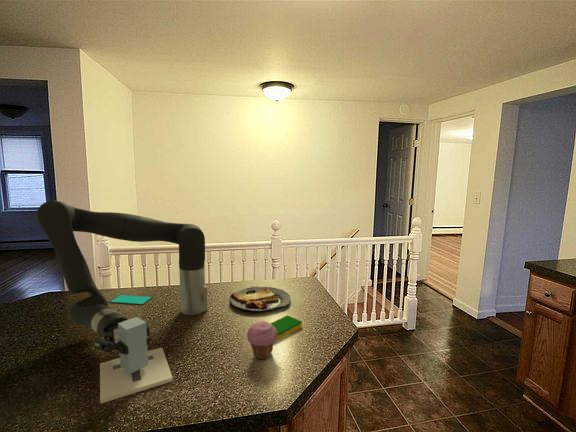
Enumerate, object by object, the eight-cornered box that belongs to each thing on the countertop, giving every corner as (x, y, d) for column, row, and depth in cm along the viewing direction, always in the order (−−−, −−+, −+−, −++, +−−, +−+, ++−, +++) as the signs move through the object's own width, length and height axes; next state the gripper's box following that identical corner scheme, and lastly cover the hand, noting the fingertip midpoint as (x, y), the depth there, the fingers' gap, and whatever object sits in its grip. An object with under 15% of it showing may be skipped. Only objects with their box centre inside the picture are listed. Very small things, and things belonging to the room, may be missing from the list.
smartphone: (120, 294, 135) (152, 296, 133) (120, 296, 135) (153, 298, 133) (108, 301, 128) (142, 304, 126) (108, 303, 128) (142, 306, 126)
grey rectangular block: (139, 357, 87) (137, 316, 85) (148, 364, 84) (146, 322, 82) (120, 366, 83) (117, 323, 81) (129, 374, 80) (126, 329, 78)
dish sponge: (258, 335, 105) (258, 328, 104) (287, 321, 115) (287, 314, 114) (273, 343, 100) (273, 336, 100) (302, 327, 110) (302, 321, 110)
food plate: (241, 319, 115) (241, 310, 114) (221, 297, 135) (221, 289, 134) (300, 307, 127) (300, 299, 126) (274, 289, 147) (274, 281, 146)
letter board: (162, 350, 95) (162, 347, 94) (172, 381, 81) (172, 377, 81) (100, 366, 87) (100, 363, 86) (100, 403, 73) (100, 399, 73)
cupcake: (272, 366, 87) (272, 332, 86) (242, 361, 90) (242, 328, 88) (280, 349, 96) (280, 318, 95) (253, 345, 98) (253, 314, 97)
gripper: (81, 321, 85) (107, 344, 75) (134, 304, 96) (163, 322, 86) (83, 347, 87) (109, 373, 76) (135, 327, 98) (164, 348, 87)
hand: (138, 346), depth 81 cm, fingers closed on grey rectangular block, 5 cm apart
